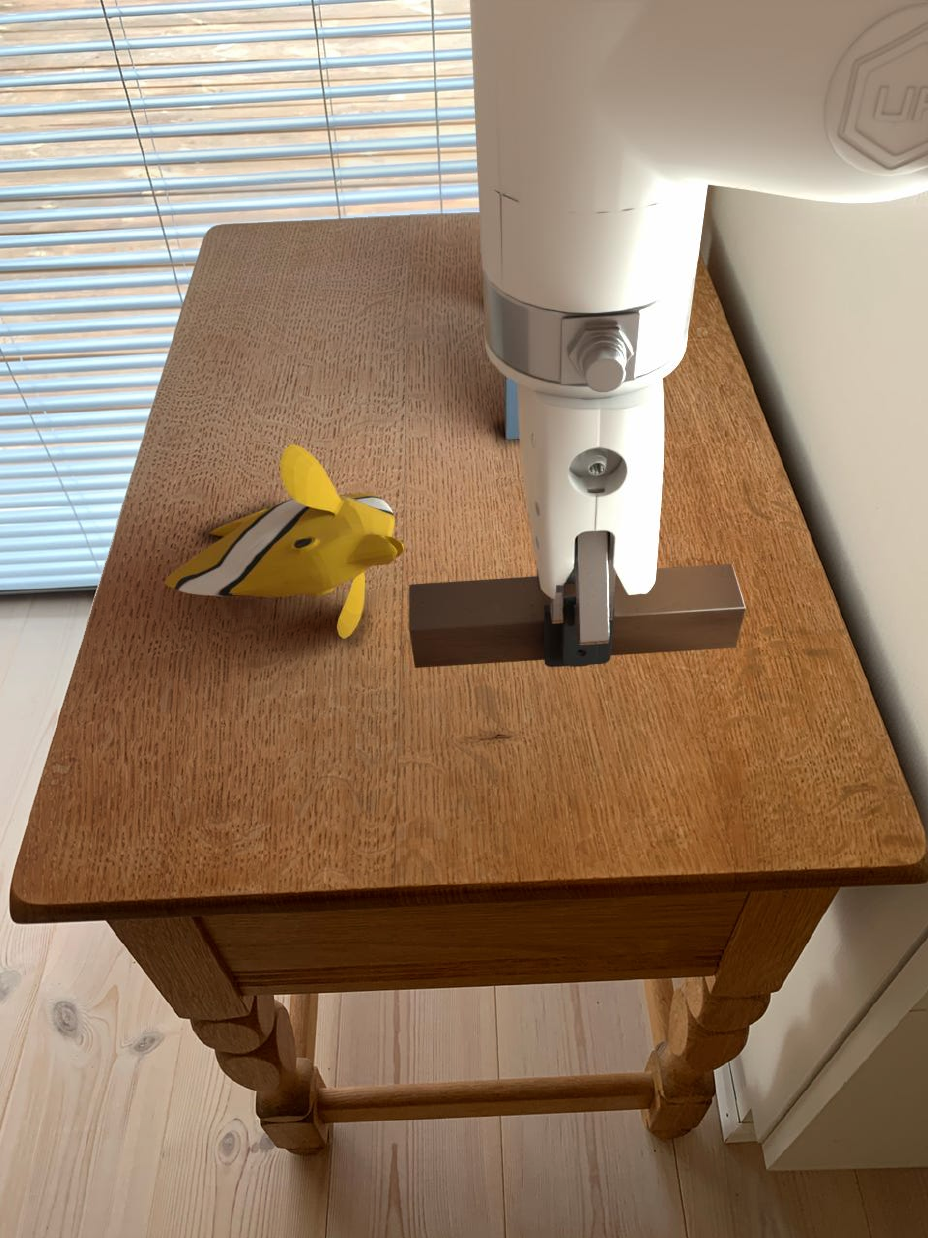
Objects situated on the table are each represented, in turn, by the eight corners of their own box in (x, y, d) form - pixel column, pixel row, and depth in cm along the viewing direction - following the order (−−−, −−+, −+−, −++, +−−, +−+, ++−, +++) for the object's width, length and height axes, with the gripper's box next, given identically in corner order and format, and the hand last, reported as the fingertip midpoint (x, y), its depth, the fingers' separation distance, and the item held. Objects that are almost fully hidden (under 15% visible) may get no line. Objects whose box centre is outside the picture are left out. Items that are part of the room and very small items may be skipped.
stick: (724, 603, 51) (732, 562, 48) (736, 648, 49) (746, 607, 46) (414, 623, 51) (408, 583, 49) (414, 668, 49) (408, 629, 47)
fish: (427, 419, 54) (171, 524, 49) (486, 617, 59) (259, 732, 54) (305, 400, 71) (103, 477, 65) (359, 556, 76) (176, 639, 70)
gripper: (739, 438, 30) (675, 765, 44) (652, 193, 41) (623, 517, 55) (496, 454, 31) (508, 775, 44) (473, 206, 41) (489, 526, 55)
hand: (572, 629), depth 50 cm, fingers closed on stick, 3 cm apart
